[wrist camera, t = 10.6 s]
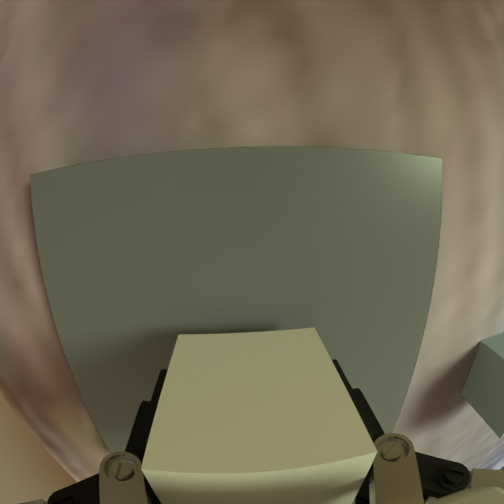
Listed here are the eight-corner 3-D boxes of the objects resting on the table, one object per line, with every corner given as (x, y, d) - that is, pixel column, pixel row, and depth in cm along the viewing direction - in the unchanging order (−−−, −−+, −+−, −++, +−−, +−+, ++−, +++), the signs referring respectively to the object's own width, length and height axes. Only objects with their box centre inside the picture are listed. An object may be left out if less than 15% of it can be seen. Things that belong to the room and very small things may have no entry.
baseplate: (423, 159, 12) (442, 158, 11) (377, 434, 17) (384, 448, 15) (47, 173, 11) (30, 174, 10) (121, 449, 16) (117, 464, 14)
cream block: (314, 327, 11) (377, 451, 5) (305, 418, 12) (337, 527, 6) (178, 334, 10) (141, 468, 5) (196, 425, 12) (186, 538, 6)
